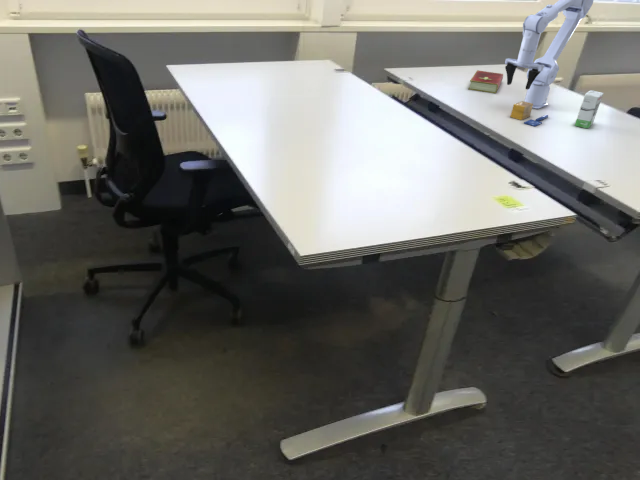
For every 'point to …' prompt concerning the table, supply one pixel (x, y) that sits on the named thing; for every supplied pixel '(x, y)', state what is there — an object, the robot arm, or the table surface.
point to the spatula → (535, 121)
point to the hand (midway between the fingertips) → (518, 86)
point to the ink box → (589, 109)
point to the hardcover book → (486, 81)
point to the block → (521, 110)
